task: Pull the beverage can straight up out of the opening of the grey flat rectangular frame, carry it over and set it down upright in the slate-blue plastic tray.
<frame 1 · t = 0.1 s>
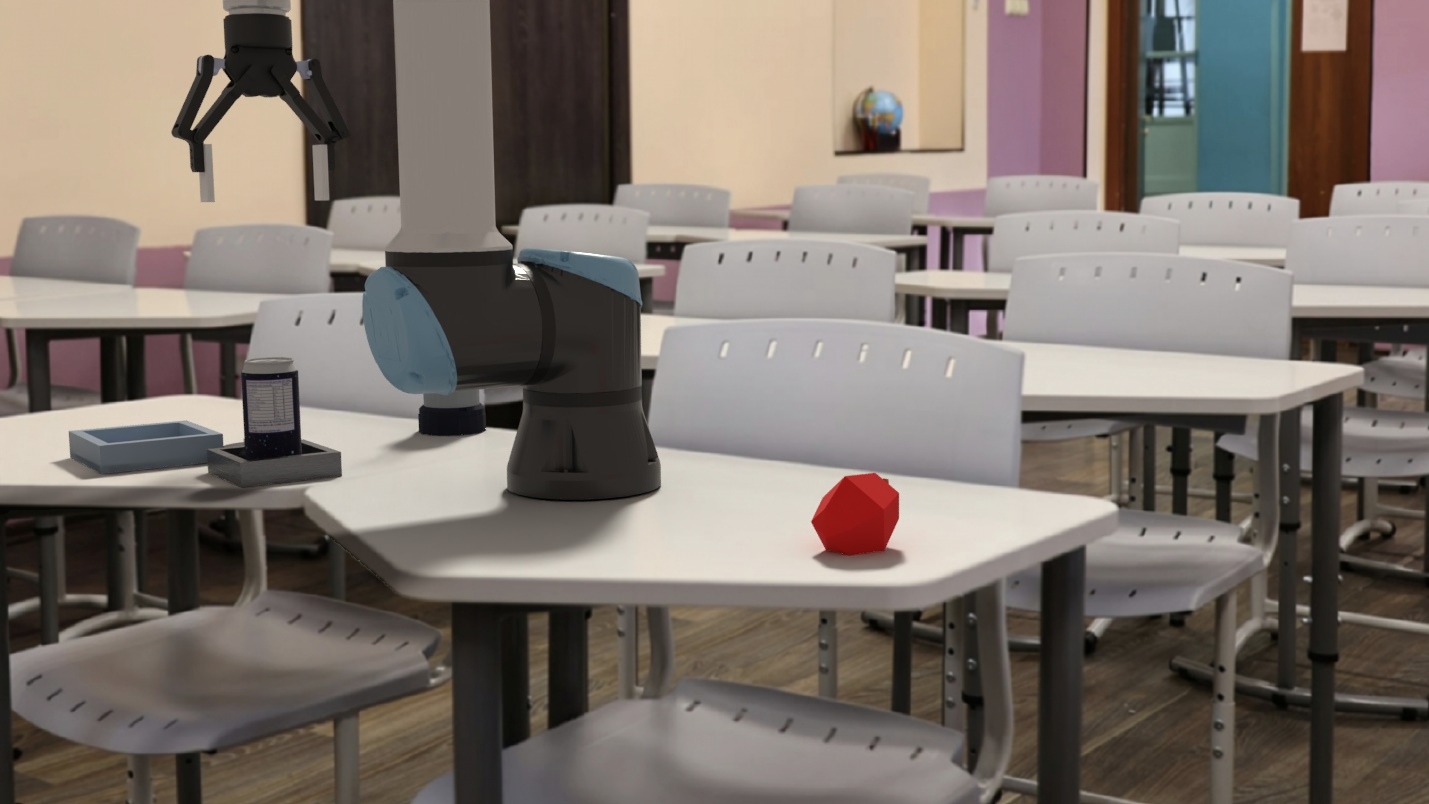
hand: (266, 201, 188), 28 cm above the table, fingers open, 13 cm apart
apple: (857, 551, 132), on the table
beverage can: (274, 476, 169), resting in grey flat rectangular frame
grey flat rectangular frame: (274, 474, 168), on the table
humidifier: (452, 432, 197), on the table
tray: (146, 459, 179), on the table
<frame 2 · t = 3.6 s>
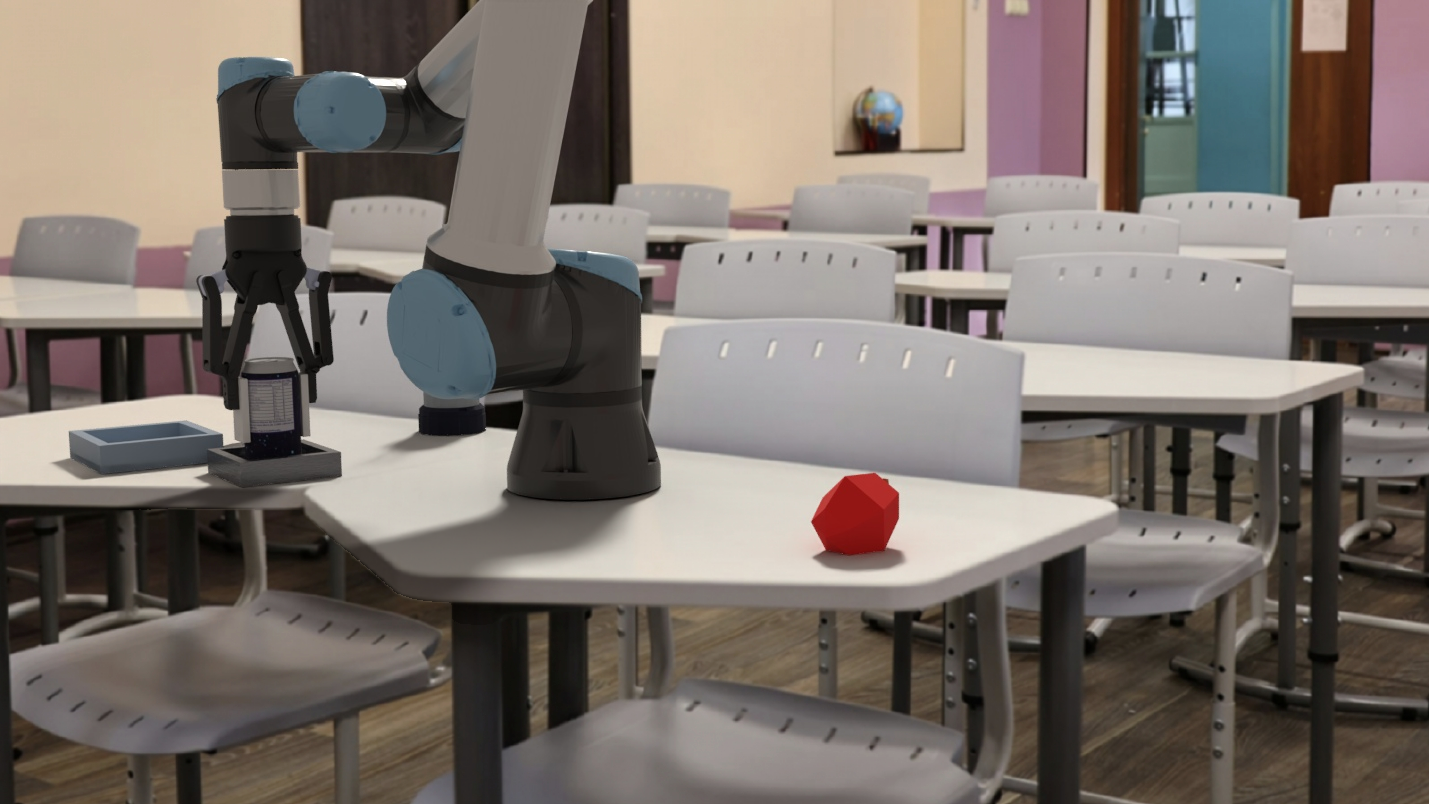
hand: (272, 437, 168), 4 cm above the table, fingers closed on beverage can, 6 cm apart
beverage can: (274, 476, 169), resting in grey flat rectangular frame, touching gripper
everything else where it was.
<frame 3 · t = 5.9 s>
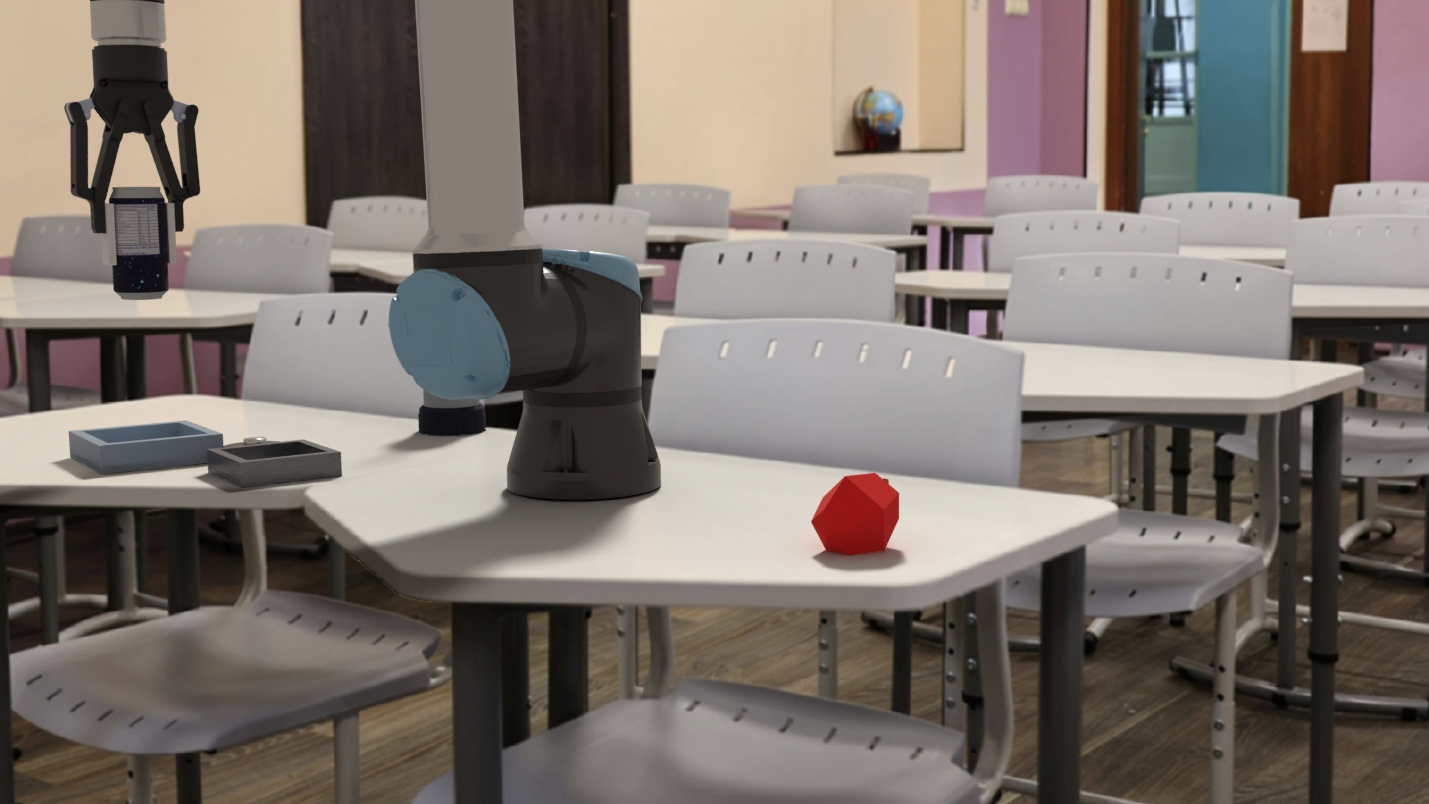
hand: (140, 263, 175), 22 cm above the table, fingers closed on beverage can, 6 cm apart
beverage can: (141, 300, 176), point 18 cm above the table, touching gripper
everything else where it was.
when the fingers open (7 cm above the table, at t = 8.5 s): beverage can drops 2 cm, resting on tray.
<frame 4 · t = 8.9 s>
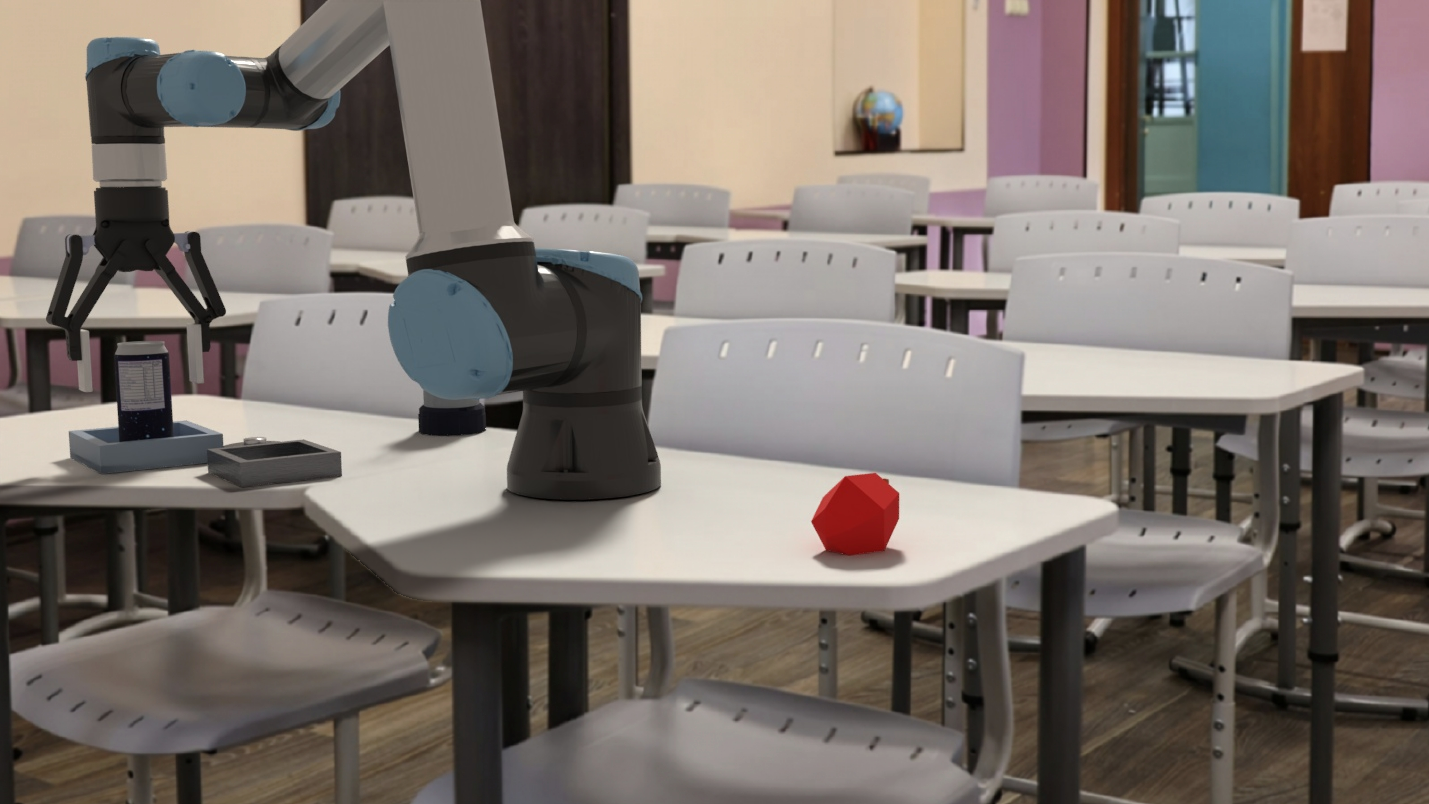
hand: (142, 386, 178), 8 cm above the table, fingers open, 11 cm apart
beverage can: (147, 453, 179), point 1 cm above the table, touching tray
everything else where it was.
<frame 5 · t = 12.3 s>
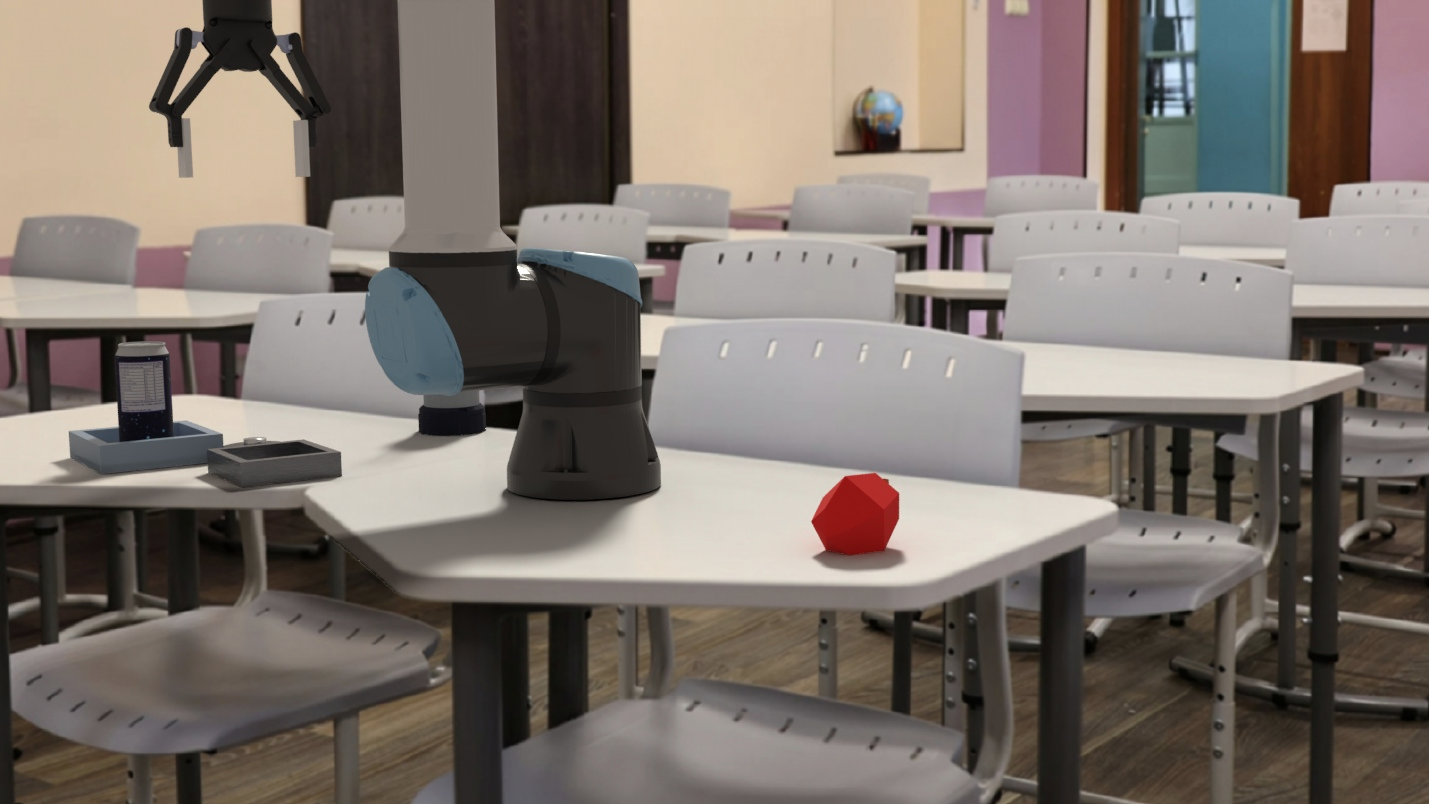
hand: (245, 177, 186), 31 cm above the table, fingers open, 13 cm apart
nothing on the table moved.
at the end: beverage can inside the target area on the tray (0.1 cm from its centre), point 0.6 cm above the tray's base; beverage can tilted 0°; the gripper is holding nothing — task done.
